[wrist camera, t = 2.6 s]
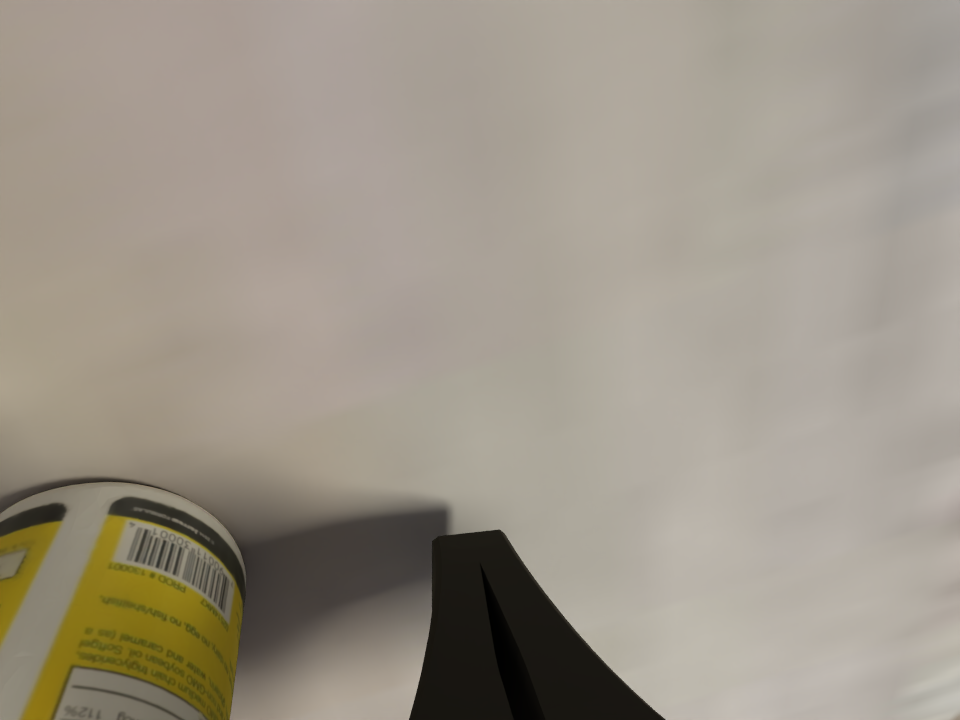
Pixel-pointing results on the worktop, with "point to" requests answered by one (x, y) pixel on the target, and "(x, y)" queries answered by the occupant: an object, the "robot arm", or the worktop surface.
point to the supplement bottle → (117, 606)
